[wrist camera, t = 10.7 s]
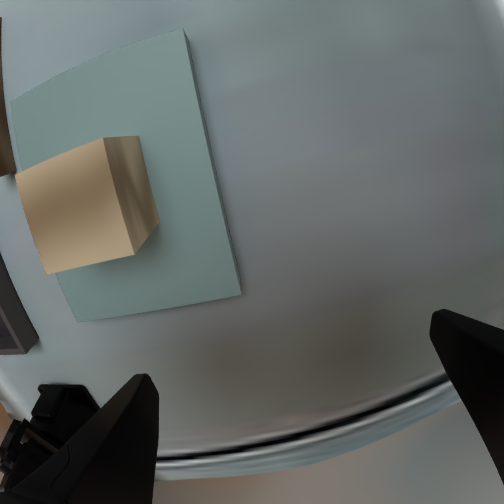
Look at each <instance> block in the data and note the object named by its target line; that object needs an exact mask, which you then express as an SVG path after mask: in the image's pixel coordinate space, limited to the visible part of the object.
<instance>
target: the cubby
mask: <svg viewBox="0 0 504 504" xmlns="http://www.w3.org/2000/svg"><path fill="white" fill-rule="evenodd" d="M14 171H16V167H15V162H14V158H13V153H12V148H11V142H10V137H9V131H8V125H7V118H6V111H5V103H4V93H3V82H2V66H1V17H0V177H1V176H4V175H8V174H10V173H12V172H14Z"/></svg>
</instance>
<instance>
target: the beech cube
mask: <svg viewBox="0 0 504 504" xmlns="http://www.w3.org/2000/svg"><path fill="white" fill-rule="evenodd" d="M15 178H16V182H17V186H18V190H19V194H20V197H21V201H22V205H23V208H24V211H25V215H26V218H27V221H28V224H29V227H30V230H31V234H32V236H33V239H34V242H35V245H36V248H37V251H38V253H39V256H40V259H41V261H42V264H43V266H44V269H45V272H46V274H52V273H56V272H60V271H64V270H69V269H73V268H77V267H82V266H86V265H91V264H95V263H99V262H104V261H108V260H113V259H117V258H122V257H126V256H131V255H135V253H136V252H137V251H138V249H139V248H140V247H141V245H142V244H143V243H144V242H145V240H146V239H147V238H148V236H149V235H150V234H151V232H152V231H153V230H154V229H155V227H156V226H157V225H158V223H159V222H160V220H159V216H158V212H157V209H156V205H155V201H154V197H153V193H152V190H151V186H150V182H149V178H148V174H147V169H146V165H145V161H144V157H143V152H142V148H141V144H140V139H139V136H121V137H106V138H101V139H98V140H95V141H92V142H90V143H87V144H85V145H82V146H79V147H77V148H74V149H72V150H69V151H67V152H64V153H62V154H60V155H57V156H55V157H53V158H50V159H48V160H46V161H43V162H41V163H39V164H37V165H35V166H33V167H30V168H28V169H26V170H24V171H22V172H20V173H18V174H16V175H15Z"/></svg>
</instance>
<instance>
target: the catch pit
mask: <svg viewBox="0 0 504 504" xmlns="http://www.w3.org/2000/svg"><path fill="white" fill-rule="evenodd" d="M38 338H39V337H38V335H37V333H36V331H35V329H34V327H33V325H32V324H31V322H30V320H29V318H28V316H27V314H26V312H25V310H24V308H23V306H22V303H21V301H20V299H19V297H18V295H17V293H16V290H15V288H14V286H13V284H12V281H11V279H10V277H9V274H8V272H7V269H6V267H5V264H4V262H3V259H2V257H1V254H0V355H12V354H27V353H28V351H29V350H30V349H31V347H32V346H33V345H34V343H35V342H36V341H37V339H38Z"/></svg>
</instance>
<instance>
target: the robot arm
mask: <svg viewBox="0 0 504 504" xmlns="http://www.w3.org/2000/svg"><path fill="white" fill-rule="evenodd" d="M429 334H430V339H431V341H432V343H433V345H434V347H435V350H436V352H437V354H438V356H439V358H440V360H441V362H442V365H443V367H444V369H445V371H446V373H447V375H448V377H449V379H450V380H451V382H452V384H453V386H454V387H455V389H456V391H457V392H458V394H459V396H460V398H461V400H462V401H463V403H464V405H465V407H466V408H467V410H468V412H469V414H470V416H471V418H472V419H473V421H474V423H475V425H476V427H477V429H478V431H479V433H480V435H481V437H482V439H483V441H484V443H485V445H486V447H487V449H488V451H489V453H490V455H491V457H492V459H493V461H494V464H495V466H496V468H497V470H498V473H499V475H500V477H501V480H502V482H503V484H504V330H503V329H500V328H497V327H494V326H492V325H489V324H486V323H483V322H480V321H478V320H475V319H472V318H469V317H466V316H464V315H461V314H458V313H455V312H452V311H450V310H447V309H441V310H438V311H435V312H434V313H433V314H432V319H431V325H430V333H429ZM38 391H39V392H40V394H41V395H40V397H39V399H38V400H37V402H36V404H35V406H34V408H33V410H32V412H31V415H32V416H33V417H32V419H31V421H30V422H29V421H27V420H26V419H25V418H24V419H23V421H22V422H21V421H18V420H15V419H14V420H13V422H12V424H11V425H10V427H9V429H8V431H7V433H6V435H5V437H4V439H3V441H2V444H1V446H0V471H1V472H2V473H4V476H3V479H2V481H1V484H0V504H152V497H153V487H154V476H155V467H156V457H157V449H158V439H159V394H158V391H157V389H156V387H155V385H154V383H153V382H152V380H151V378H150V376H149V375H148V374H146V373H143V374H135V375H134V376H133V377H132V378H131V379H130V380H129V381H128V382H127V383H126V384H125V385H124V386H123V387H122V388H121V389H120V390H119V391H118V392H117V393H116V394H115V395H114V396H113V397H112V398H111V399H110V400H109V401H108V402H107V403H106V404H105V405H104V406H103V407H102V408H101V409H99V407H98V406H97V405H96V403H95V402H94V400H93V399H92V397H91V396H90V395H89V393H88V392H87V390H86V389H85V387H83V386H81V385H39V387H38ZM20 441H21V442H22V443H23V444H21V443H20Z"/></svg>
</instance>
